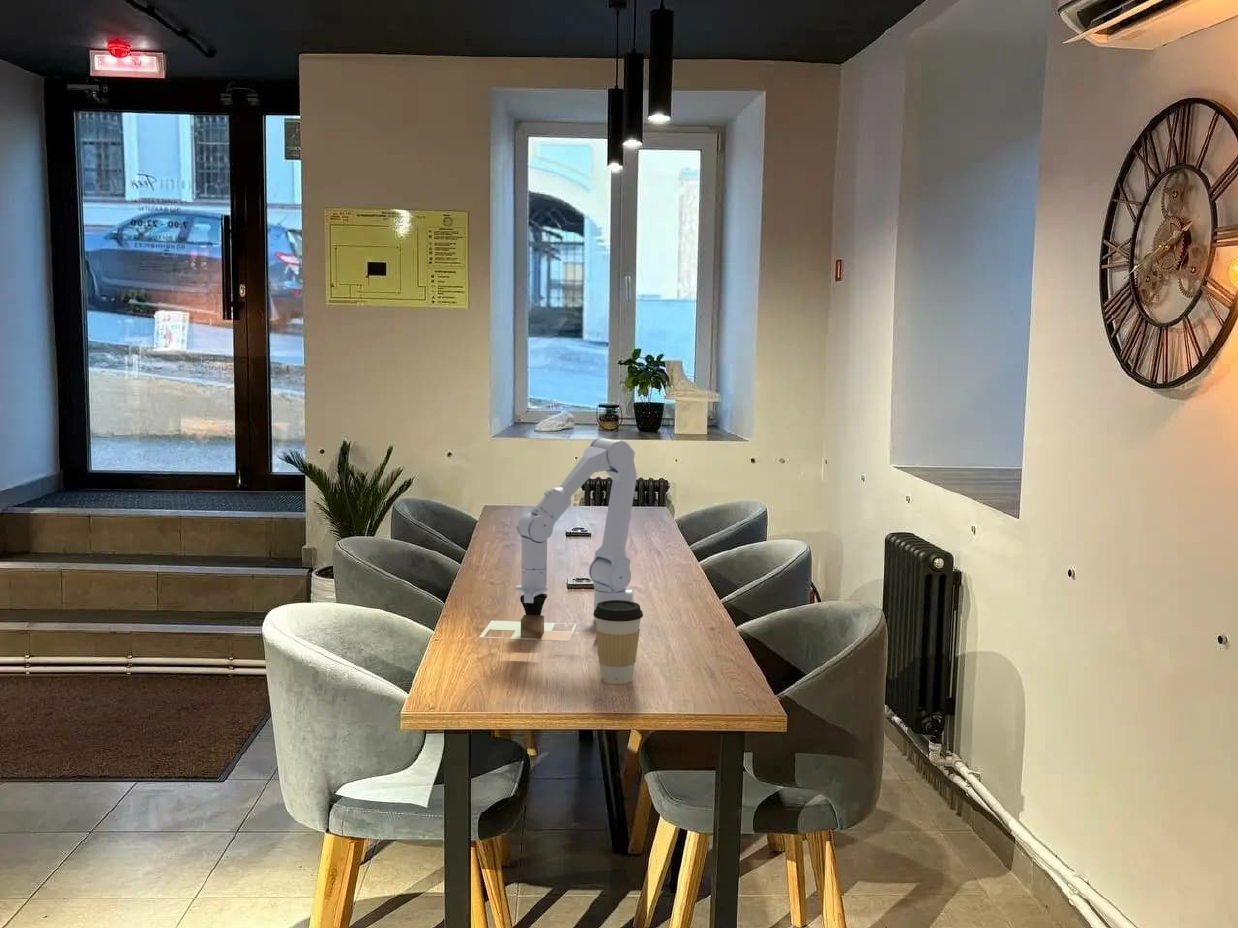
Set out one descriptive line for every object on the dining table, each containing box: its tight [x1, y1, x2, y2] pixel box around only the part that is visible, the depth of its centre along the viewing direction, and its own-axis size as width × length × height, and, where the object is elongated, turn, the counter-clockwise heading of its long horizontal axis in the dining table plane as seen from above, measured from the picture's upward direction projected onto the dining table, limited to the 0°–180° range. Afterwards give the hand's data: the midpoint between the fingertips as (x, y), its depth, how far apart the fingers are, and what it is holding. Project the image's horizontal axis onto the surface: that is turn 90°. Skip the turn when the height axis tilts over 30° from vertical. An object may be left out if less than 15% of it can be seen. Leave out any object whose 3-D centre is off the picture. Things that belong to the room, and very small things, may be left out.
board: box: [478, 620, 578, 642], centre depth 238 cm, size 20×14×2 cm
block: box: [520, 614, 545, 639], centre depth 234 cm, size 4×4×4 cm
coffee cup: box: [593, 600, 644, 685], centre depth 209 cm, size 10×10×15 cm
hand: (533, 626), depth 238 cm, fingers closed
